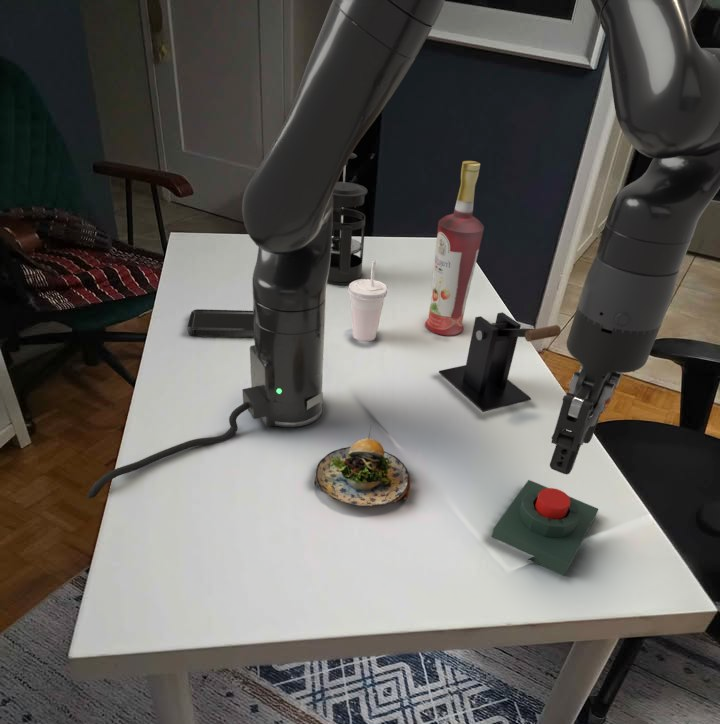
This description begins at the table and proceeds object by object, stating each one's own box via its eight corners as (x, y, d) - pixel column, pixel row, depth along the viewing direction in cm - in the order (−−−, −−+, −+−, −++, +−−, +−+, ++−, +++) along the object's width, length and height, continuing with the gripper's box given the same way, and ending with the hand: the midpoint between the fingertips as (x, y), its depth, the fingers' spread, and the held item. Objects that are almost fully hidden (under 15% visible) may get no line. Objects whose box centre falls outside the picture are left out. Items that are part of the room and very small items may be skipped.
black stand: (529, 404, 99) (549, 334, 91) (481, 416, 95) (498, 344, 88) (483, 367, 107) (498, 299, 99) (437, 377, 103) (449, 308, 96)
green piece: (564, 576, 72) (574, 551, 69) (489, 542, 75) (496, 516, 72) (593, 521, 79) (603, 497, 76) (524, 492, 82) (532, 468, 80)
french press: (313, 265, 135) (316, 144, 120) (357, 265, 137) (365, 146, 122) (320, 289, 126) (324, 161, 111) (367, 288, 128) (377, 163, 113)
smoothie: (378, 352, 108) (387, 270, 99) (341, 346, 109) (346, 264, 100) (385, 335, 113) (393, 256, 104) (349, 329, 114) (354, 250, 105)
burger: (296, 491, 79) (296, 442, 75) (346, 445, 87) (350, 398, 83) (380, 531, 75) (386, 481, 70) (425, 478, 83) (434, 431, 78)
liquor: (471, 337, 115) (505, 168, 97) (437, 344, 112) (465, 171, 94) (448, 320, 119) (476, 155, 101) (415, 326, 116) (438, 158, 99)
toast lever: (561, 339, 87) (560, 321, 86) (532, 345, 85) (531, 326, 84) (503, 337, 97) (502, 321, 96) (476, 343, 95) (475, 326, 94)
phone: (192, 309, 113) (278, 311, 114) (192, 315, 114) (278, 317, 115) (186, 330, 107) (277, 331, 108) (187, 336, 108) (277, 338, 109)
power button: (560, 524, 73) (564, 513, 72) (530, 511, 74) (534, 500, 73) (570, 507, 75) (574, 496, 74) (541, 495, 77) (545, 483, 75)
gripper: (602, 274, 65) (558, 413, 76) (555, 324, 56) (512, 474, 66) (679, 295, 62) (622, 436, 73) (642, 351, 53) (583, 504, 63)
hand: (570, 454), depth 70 cm, fingers open, 6 cm apart
